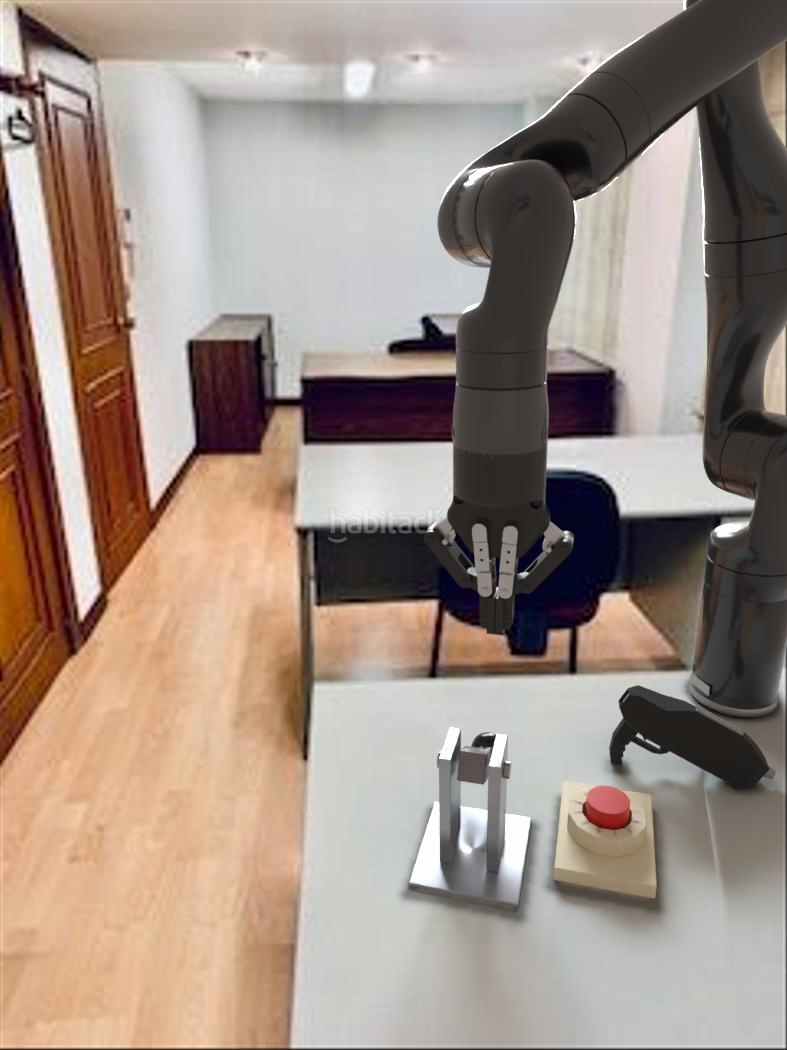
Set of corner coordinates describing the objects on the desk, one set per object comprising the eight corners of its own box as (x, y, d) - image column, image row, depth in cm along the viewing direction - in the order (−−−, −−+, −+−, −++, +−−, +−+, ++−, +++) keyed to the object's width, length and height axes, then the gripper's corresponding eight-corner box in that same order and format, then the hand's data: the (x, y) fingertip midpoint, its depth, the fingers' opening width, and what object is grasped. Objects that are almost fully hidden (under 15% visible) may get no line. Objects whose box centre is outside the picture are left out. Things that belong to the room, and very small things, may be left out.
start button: (586, 798, 68) (587, 782, 67) (628, 805, 67) (629, 789, 66) (584, 826, 65) (585, 810, 64) (628, 834, 64) (630, 817, 63)
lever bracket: (435, 811, 72) (433, 705, 68) (530, 827, 70) (535, 719, 66) (408, 893, 63) (405, 777, 59) (517, 915, 61) (522, 796, 57)
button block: (561, 799, 73) (564, 765, 72) (649, 813, 71) (653, 778, 70) (553, 888, 63) (555, 850, 62) (654, 907, 61) (658, 868, 60)
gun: (729, 834, 76) (793, 766, 72) (585, 757, 76) (641, 684, 72) (723, 814, 78) (785, 747, 74) (584, 740, 78) (638, 668, 74)
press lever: (472, 761, 73) (475, 728, 74) (505, 767, 72) (508, 732, 73) (450, 784, 62) (453, 744, 62) (489, 791, 61) (492, 750, 61)
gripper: (587, 430, 62) (575, 618, 68) (430, 425, 66) (432, 604, 72) (582, 454, 56) (570, 661, 62) (408, 447, 59) (412, 643, 65)
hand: (496, 630), depth 67 cm, fingers closed
